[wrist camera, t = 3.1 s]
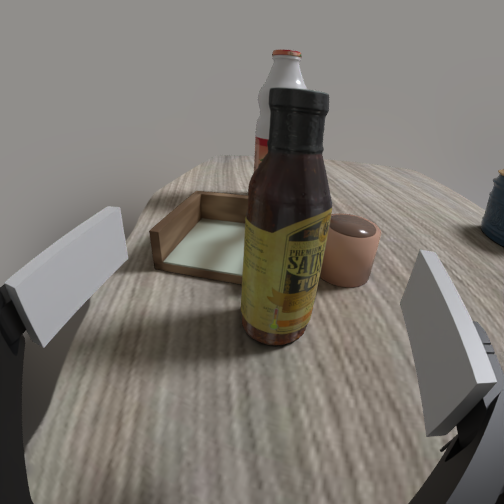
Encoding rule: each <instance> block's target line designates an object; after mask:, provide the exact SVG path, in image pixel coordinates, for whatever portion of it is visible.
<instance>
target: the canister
mask: <svg viewBox="0 0 504 504" xmlns="http://www.w3.org/2000/svg"><path fill="white" fill-rule="evenodd" d="M498 172H499V173H500V175H499V176H498V177H497V178H494V179H493V182H494V187H493V190H492V192H490V197H489V200H488V204H487V207H486V211H485V214H484V216H483V218H482V222H481V223H482V224H481V229H482V231H483V232H484V233H485V234H486V235H487V236H488V237H489V238H490V239H492V240H493V241H495V242H496V243H498V244H500V245H502V246H504V169H503V170H499V171H498Z"/></svg>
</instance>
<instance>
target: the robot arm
mask: <svg viewBox="0 0 504 504" xmlns="http://www.w3.org/2000/svg"><path fill="white" fill-rule="evenodd" d="M127 259H128V253H127V248H126V242H125V236H124V229H123V223H122V217H121V208H120V207H112V206H108V207H106V208H104V209H103V210H101V211H100V212H98V213H97V214H95V215H94V216H92V217H91V218H89V219H88V220H87V221H85V222H83V223H82V224H80V225H79V226H77V227H76V228H75V229H73V230H72V231H70V232H69V233H67V234H66V235H65V236H63V237H62V238H60V239H59V240H58V241H57V242H55V243H54V244H52V245H51V246H50V247H48V248H47V249H46V250H44V251H43V252H42V253H40V254H39V255H38V256H37V257H35V258H34V259H32V260H31V261H30V262H29V263H28V264H26V265H25V266H24V267H23V268H21V269H20V270H19V271H18V272H16V273H15V274H14V275H13V276H12V277H10V278H9V279H8V280H7V281H6V282H5V283H4V285H3V286H2V287H0V504H33V502H32V500H31V496H30V492H29V486H28V480H27V474H26V466H25V458H24V448H23V436H22V435H23V434H22V374H23V359H24V349H25V338H24V336H23V333H24V332H25V330H27V332H28V334H29V336H30V338H31V340H32V341H33V342H34V343H36V344H38V345H40V346H42V347H43V348H44V347H45V346H46V345H47V344H48V343H49V341H50V340H51V339H52V338H53V337H54V336H55V335H56V333H57V332H58V331H59V330H60V329H61V328H62V327H63V326H64V325H65V323H66V322H67V321H68V320H69V319H70V318H71V317H72V316H73V315H74V314H75V312H76V311H77V310H78V309H79V308H80V307H81V306H82V305H83V304H84V303H85V302H86V300H88V299H89V298H90V296H91V295H92V294H93V293H94V292H95V291H96V290H97V289H98V288H99V287H100V286H101V285H102V284H103V283H104V282H105V281H106V280H107V279H108V278H109V277H110V276H111V275H112V274H113V273H114V272H115V271H116V270H117V269H118V268H119V267H120V266H121V265H122V264H123V263H124V262H125V261H126V260H127ZM400 305H401V309H402V312H403V316H404V320H405V324H406V328H407V332H408V336H409V340H410V344H411V349H412V353H413V358H414V362H415V367H416V372H417V377H418V383H419V388H420V394H421V400H422V407H423V414H424V421H425V429H426V437H430V436H442V435H447V434H448V433H449V432H450V431H451V430H452V429H453V428H454V427H455V426H457V431H458V435H456V436H455V437H454V438H453V439H452V440H451V441H449V442H448V443H447V444H446V445H445V446H443V447H442V449H441V450H440V451H441V452H443V451H444V450H445V449H446V448H447V450H446V451H445V453H444V455H443V456H442V458H441V459H440V461H439V462H438V464H437V465H436V467H435V468H434V470H433V471H432V473H431V474H430V476H429V477H428V479H427V480H426V481H425V483H424V484H423V486H422V487H421V488H420V490H419V491H418V492H417V494H416V495H415V496H414V497H413V499H412V500H411V501H410V502H409V504H504V374H503V371H502V369H501V366H500V364H499V361H498V359H497V356H496V354H494V353H495V352H494V349H493V347H492V345H490V344H491V342H490V340H489V338H488V336H487V334H486V332H485V331H484V329H483V328H482V327H481V326H480V325H479V323H478V322H474V321H472V319H471V317H470V315H469V313H468V311H467V309H466V307H465V305H464V303H463V301H462V299H461V297H460V295H459V293H458V291H457V289H456V288H455V286H454V284H453V282H452V280H451V278H450V277H449V275H448V273H447V271H446V270H445V268H444V266H443V264H442V263H441V261H440V259H439V258H438V256H437V254H436V253H435V252H431V251H425V250H419V253H418V256H417V259H416V262H415V265H414V268H413V271H412V273H411V276H410V279H409V281H408V284H407V287H406V289H405V292H404V294H403V297H402V299H401V302H400Z"/></svg>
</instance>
